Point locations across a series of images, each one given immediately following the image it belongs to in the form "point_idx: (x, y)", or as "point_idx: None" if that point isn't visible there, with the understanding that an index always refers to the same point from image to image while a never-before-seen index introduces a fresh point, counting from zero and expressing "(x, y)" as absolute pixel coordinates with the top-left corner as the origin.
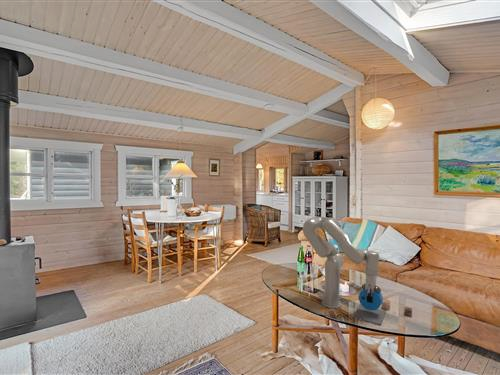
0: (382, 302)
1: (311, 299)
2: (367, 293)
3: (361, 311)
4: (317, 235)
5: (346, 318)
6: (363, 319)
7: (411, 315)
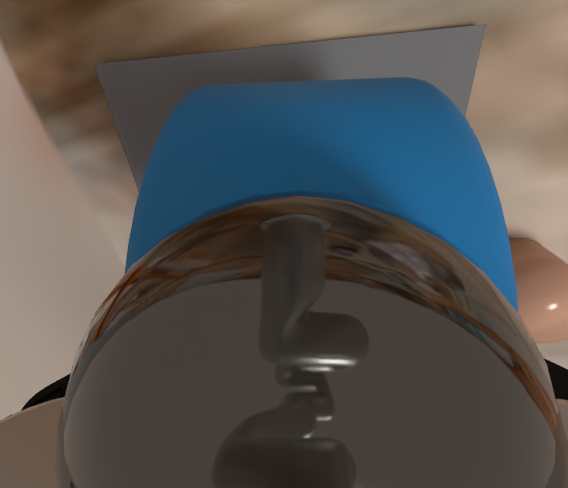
0: (529, 280)
1: None
2: (38, 398)
3: None
4: None
5: (32, 9)
6: (135, 179)
7: None
